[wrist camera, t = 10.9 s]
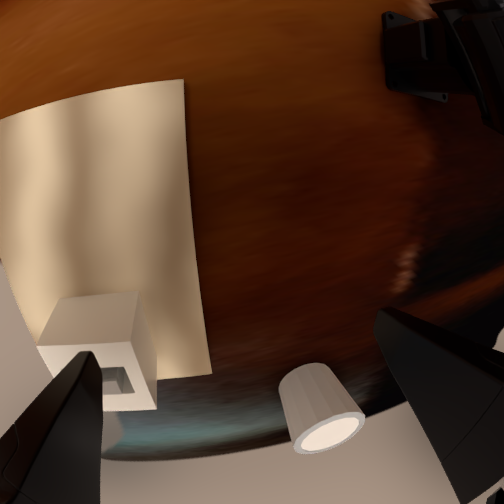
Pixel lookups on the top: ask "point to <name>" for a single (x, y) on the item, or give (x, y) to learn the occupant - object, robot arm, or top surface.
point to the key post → (113, 380)
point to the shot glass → (318, 409)
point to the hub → (105, 343)
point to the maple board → (105, 213)
